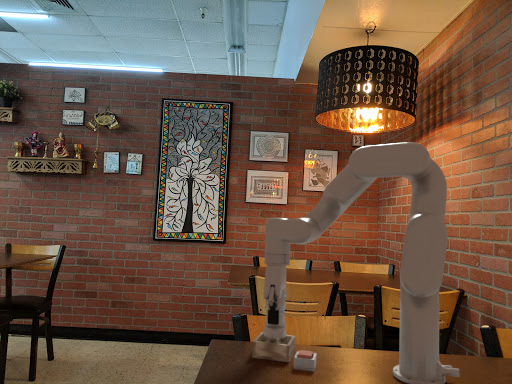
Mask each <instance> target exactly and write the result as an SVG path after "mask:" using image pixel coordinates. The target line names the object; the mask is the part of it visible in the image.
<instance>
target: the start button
mask: <svg viewBox="0 0 512 384" xmlns="http://www.w3.org/2000/svg"><path fill="white" fill-rule="evenodd" d="M298 351H299V353H298V357H300V358H308V359H312V358H313V353H314V351H312V350H303V349H299V350H298Z"/></svg>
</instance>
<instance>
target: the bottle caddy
mask: <svg viewBox="0 0 512 384" xmlns="http://www.w3.org/2000/svg"><path fill="white" fill-rule="evenodd" d="M294 351H295V352H296V335H291V334H290V335H289V334H286V339H285V341H284V342H283V343H281V344H278V343H269V342H266V341H265V339H264V331H261V332H259V334H258V335H257V336H256V337H255V338H254V339H253V341H252V359H253V358H254V359H262V360H269V361H277V362H286V363H290V361H291V360H292V357H293V356H294V354H295V352H294ZM293 353H294V354H293Z"/></svg>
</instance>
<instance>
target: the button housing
mask: <svg viewBox="0 0 512 384" xmlns="http://www.w3.org/2000/svg"><path fill="white" fill-rule="evenodd" d="M299 351H300V350H297V351H295V352H296V353H294V355H293V356H294V357H293V370H298V371H304V372H305V371H306V372H307V371H308V372H313V373H314V372H315V370H316V366H317V352H313V358H312V359H308V358H300V357H298V353H299Z"/></svg>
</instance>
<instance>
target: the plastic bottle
mask: <svg viewBox="0 0 512 384" xmlns="http://www.w3.org/2000/svg"><path fill="white" fill-rule="evenodd" d="M287 292H288V291H287V288H286V289H285V287H284V289H283V292H282V297H281V299H280V300H279V305H278V310H279V324H278V325H274V324H268V303H269V302H268V300H269V297H268V298H267V299H264V301H265V310H266V311H265V315H266V316H265V324H264V328H263V332H264V339H265V341H266V342H269V343H278V344H281V343H283V342H284V341H285V339H286V335H287V329H286V320H285V315H286V314H285V311H286V302H287V295H288V293H287ZM268 296H269V295H268ZM274 299H277V297H276V296H274ZM274 302H275V301H274ZM275 303H276V302H275Z"/></svg>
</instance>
